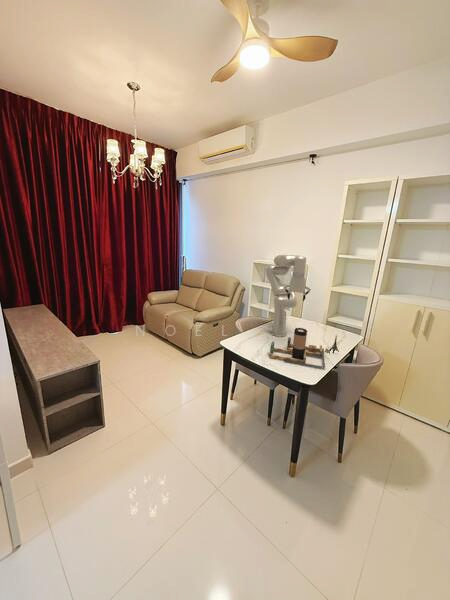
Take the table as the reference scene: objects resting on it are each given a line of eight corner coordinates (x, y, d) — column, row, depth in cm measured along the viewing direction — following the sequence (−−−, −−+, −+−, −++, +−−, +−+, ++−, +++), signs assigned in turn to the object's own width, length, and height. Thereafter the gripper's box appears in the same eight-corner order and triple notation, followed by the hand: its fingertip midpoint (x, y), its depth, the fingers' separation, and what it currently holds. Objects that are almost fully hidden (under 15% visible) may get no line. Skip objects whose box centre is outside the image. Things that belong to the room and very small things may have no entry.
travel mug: (289, 356, 160) (292, 327, 155) (300, 356, 160) (304, 327, 156) (294, 362, 152) (297, 332, 147) (305, 362, 153) (309, 332, 148)
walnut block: (307, 354, 164) (308, 347, 162) (307, 351, 168) (308, 344, 167) (315, 355, 162) (316, 348, 161) (315, 352, 166) (316, 346, 165)
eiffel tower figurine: (327, 346, 179) (330, 329, 175) (342, 349, 173) (345, 332, 170) (323, 353, 166) (325, 335, 163) (339, 357, 161) (342, 339, 158)
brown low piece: (268, 358, 157) (269, 346, 155) (272, 350, 168) (272, 339, 166) (305, 365, 149) (306, 353, 147) (305, 356, 160) (307, 345, 158)
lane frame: (283, 362, 152) (284, 358, 151) (288, 345, 176) (288, 342, 175) (324, 369, 144) (324, 366, 144) (323, 351, 168) (323, 348, 167)
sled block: (286, 351, 166) (287, 340, 164) (287, 346, 174) (288, 336, 173) (321, 358, 159) (322, 346, 157) (321, 352, 167) (322, 341, 165)
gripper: (284, 274, 163) (282, 299, 167) (312, 276, 157) (309, 302, 161) (286, 273, 169) (283, 297, 174) (312, 275, 164) (309, 300, 168)
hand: (296, 299), depth 167 cm, fingers open, 9 cm apart
